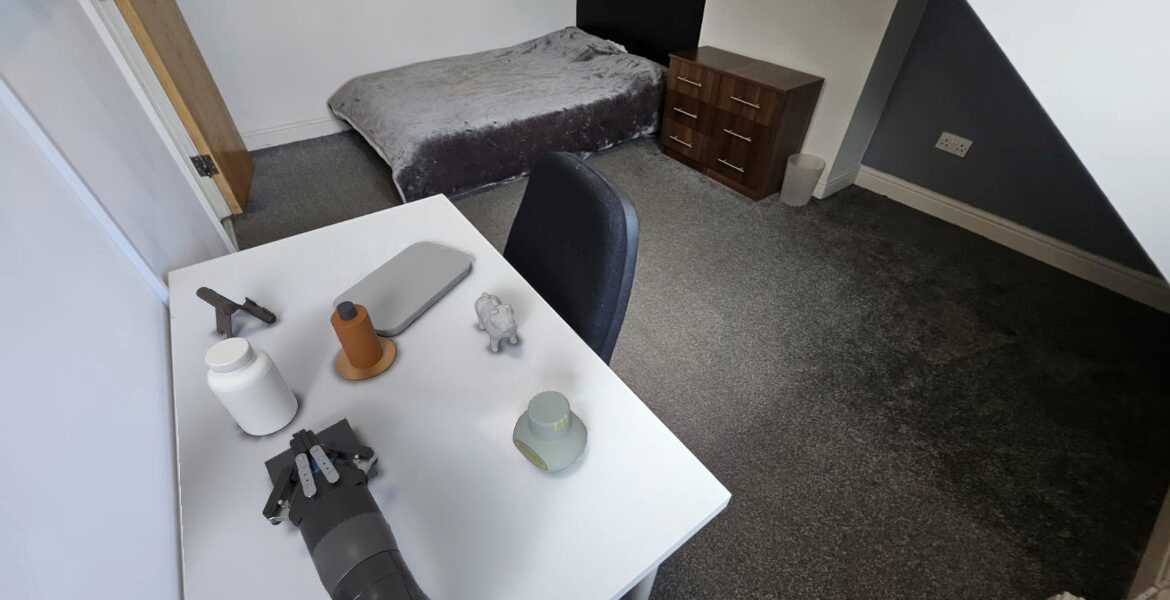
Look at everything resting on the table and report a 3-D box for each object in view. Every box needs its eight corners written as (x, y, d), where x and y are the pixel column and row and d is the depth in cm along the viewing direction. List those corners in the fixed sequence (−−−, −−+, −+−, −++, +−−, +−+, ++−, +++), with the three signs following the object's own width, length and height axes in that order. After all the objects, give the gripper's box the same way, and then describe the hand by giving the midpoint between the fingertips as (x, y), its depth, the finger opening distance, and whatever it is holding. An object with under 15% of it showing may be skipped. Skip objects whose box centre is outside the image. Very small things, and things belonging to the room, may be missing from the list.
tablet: (328, 314, 91) (324, 305, 90) (421, 247, 109) (419, 238, 107) (391, 343, 86) (387, 334, 85) (478, 267, 103) (476, 259, 102)
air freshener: (505, 444, 71) (499, 404, 64) (543, 409, 76) (540, 369, 69) (559, 489, 66) (557, 450, 59) (596, 448, 71) (598, 409, 64)
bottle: (356, 373, 80) (333, 323, 72) (344, 354, 83) (320, 304, 75) (388, 358, 83) (369, 307, 75) (375, 340, 86) (355, 290, 78)
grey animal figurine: (501, 367, 82) (495, 323, 75) (474, 323, 90) (466, 280, 83) (528, 355, 85) (525, 312, 77) (499, 313, 93) (493, 270, 85)
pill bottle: (304, 420, 73) (262, 356, 63) (245, 446, 70) (192, 382, 60) (295, 387, 78) (255, 322, 68) (239, 409, 75) (189, 344, 65)
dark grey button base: (298, 531, 61) (279, 510, 57) (276, 476, 66) (257, 454, 62) (380, 479, 66) (368, 457, 62) (353, 432, 72) (341, 409, 68)
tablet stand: (279, 320, 90) (259, 287, 84) (238, 346, 85) (214, 312, 79) (251, 304, 93) (231, 271, 88) (211, 328, 88) (186, 294, 82)
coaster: (349, 390, 78) (348, 388, 78) (327, 355, 83) (326, 354, 83) (405, 360, 83) (405, 358, 83) (382, 330, 88) (381, 328, 88)
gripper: (401, 486, 51) (342, 390, 61) (270, 573, 45) (227, 449, 55) (416, 517, 56) (360, 423, 66) (300, 598, 50) (256, 481, 59)
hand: (300, 435), depth 60 cm, fingers closed
